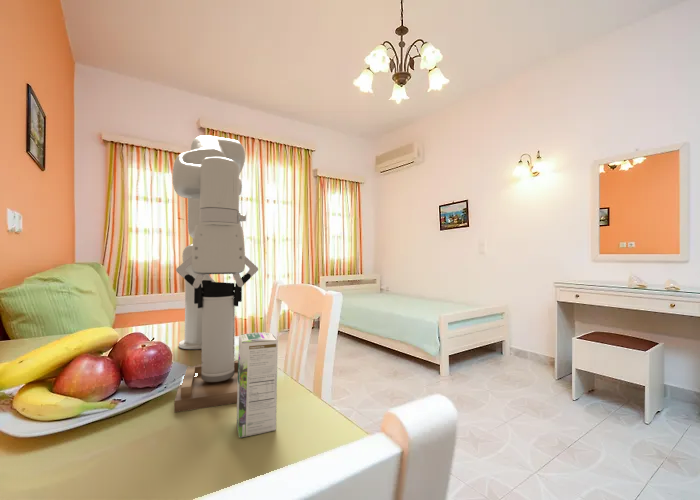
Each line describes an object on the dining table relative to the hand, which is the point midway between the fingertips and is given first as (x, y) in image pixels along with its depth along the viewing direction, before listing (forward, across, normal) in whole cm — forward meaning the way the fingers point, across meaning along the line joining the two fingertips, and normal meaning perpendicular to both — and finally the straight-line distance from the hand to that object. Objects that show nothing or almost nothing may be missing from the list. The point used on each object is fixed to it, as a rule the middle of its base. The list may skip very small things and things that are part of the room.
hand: (218, 305), depth 67 cm
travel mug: (+15, 0, 0) cm, 15 cm away
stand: (+17, 0, 0) cm, 17 cm away
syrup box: (+18, -6, +17) cm, 25 cm away
